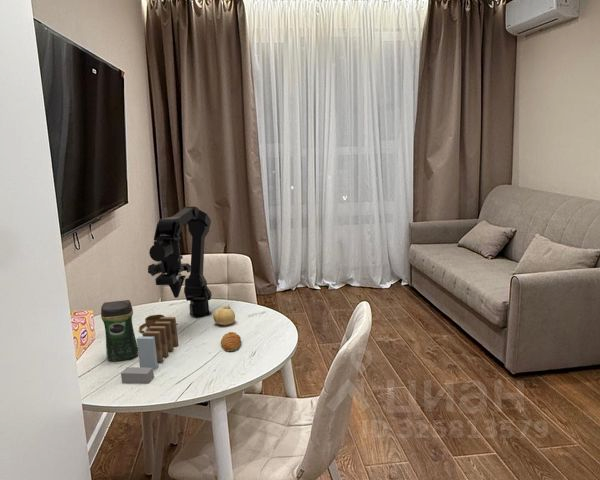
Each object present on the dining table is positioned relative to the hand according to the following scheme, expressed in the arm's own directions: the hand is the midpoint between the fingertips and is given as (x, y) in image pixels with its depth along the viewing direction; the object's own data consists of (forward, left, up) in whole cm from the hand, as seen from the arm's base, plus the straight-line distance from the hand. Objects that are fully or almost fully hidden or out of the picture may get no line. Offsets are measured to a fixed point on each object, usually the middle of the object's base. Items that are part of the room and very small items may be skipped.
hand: (176, 297), depth 189 cm
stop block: (+25, +27, -13) cm, 39 cm away
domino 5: (+11, +13, -13) cm, 21 cm away
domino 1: (+20, +22, -13) cm, 32 cm away
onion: (-16, +4, -13) cm, 21 cm away
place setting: (+5, -14, -14) cm, 20 cm away
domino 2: (+17, +19, -13) cm, 28 cm away
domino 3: (+14, +16, -13) cm, 25 cm away
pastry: (-8, +24, -14) cm, 29 cm away
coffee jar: (+23, +7, -13) cm, 27 cm away
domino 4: (+8, +10, -13) cm, 18 cm away
